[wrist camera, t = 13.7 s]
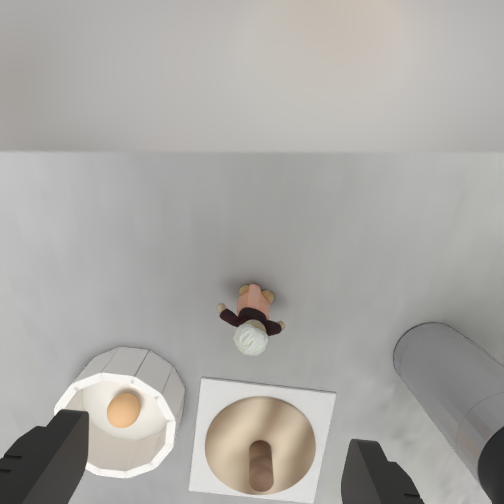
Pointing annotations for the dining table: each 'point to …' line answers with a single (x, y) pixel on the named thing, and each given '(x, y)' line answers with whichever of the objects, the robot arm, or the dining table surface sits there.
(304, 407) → the mat
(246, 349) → the grandmother figurine
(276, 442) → the lid
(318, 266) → the dining table surface
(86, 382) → the bowl
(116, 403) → the apricot ball
